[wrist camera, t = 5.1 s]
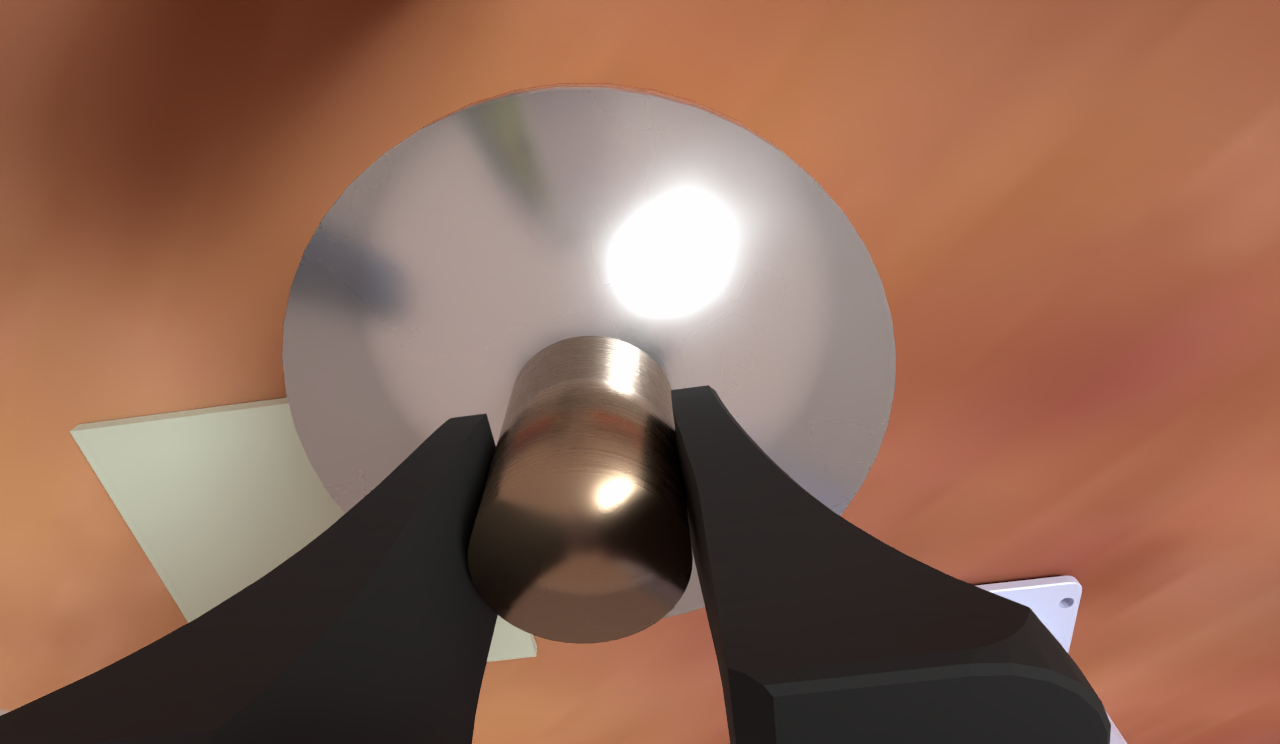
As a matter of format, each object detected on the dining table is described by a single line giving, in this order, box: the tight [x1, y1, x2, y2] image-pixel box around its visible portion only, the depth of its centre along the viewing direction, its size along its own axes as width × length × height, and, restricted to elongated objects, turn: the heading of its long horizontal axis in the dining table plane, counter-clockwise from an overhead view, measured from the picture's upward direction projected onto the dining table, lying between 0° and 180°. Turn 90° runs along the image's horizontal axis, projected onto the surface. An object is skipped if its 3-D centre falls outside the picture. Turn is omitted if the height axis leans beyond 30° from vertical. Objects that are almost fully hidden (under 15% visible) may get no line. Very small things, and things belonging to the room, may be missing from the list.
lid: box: [282, 83, 896, 643], centre depth 12 cm, size 11×11×5 cm
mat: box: [70, 398, 537, 662], centre depth 25 cm, size 12×12×1 cm
